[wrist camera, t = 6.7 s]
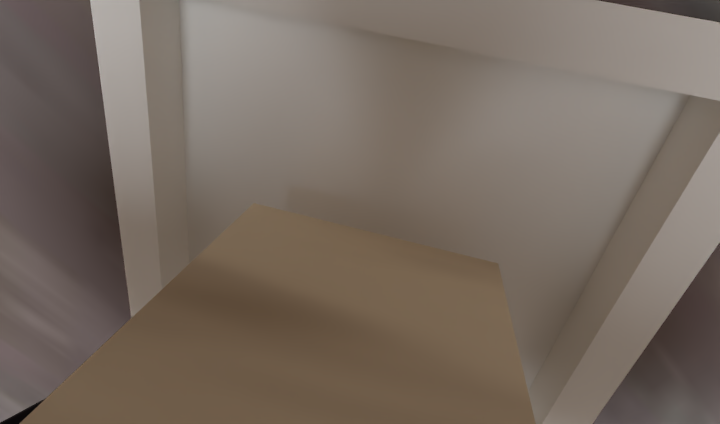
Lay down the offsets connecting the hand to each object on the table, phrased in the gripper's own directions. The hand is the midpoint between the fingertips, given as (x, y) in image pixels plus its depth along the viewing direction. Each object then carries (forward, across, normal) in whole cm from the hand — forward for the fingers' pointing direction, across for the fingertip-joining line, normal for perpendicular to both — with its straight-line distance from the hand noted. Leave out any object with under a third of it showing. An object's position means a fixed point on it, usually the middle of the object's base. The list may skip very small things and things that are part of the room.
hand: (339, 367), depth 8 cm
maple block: (+1, 0, 0) cm, 1 cm away
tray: (+4, 0, 0) cm, 4 cm away
